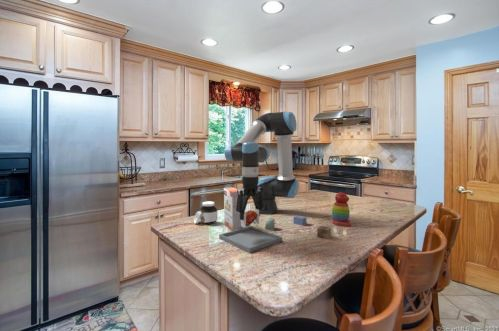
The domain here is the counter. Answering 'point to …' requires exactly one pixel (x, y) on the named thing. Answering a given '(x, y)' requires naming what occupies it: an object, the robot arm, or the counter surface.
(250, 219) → the pomegranate
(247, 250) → the tray
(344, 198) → the stacking bear
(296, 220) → the lavender blue block
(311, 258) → the counter surface
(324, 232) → the walnut block
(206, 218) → the spread jar
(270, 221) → the sage block
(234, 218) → the cracker box
